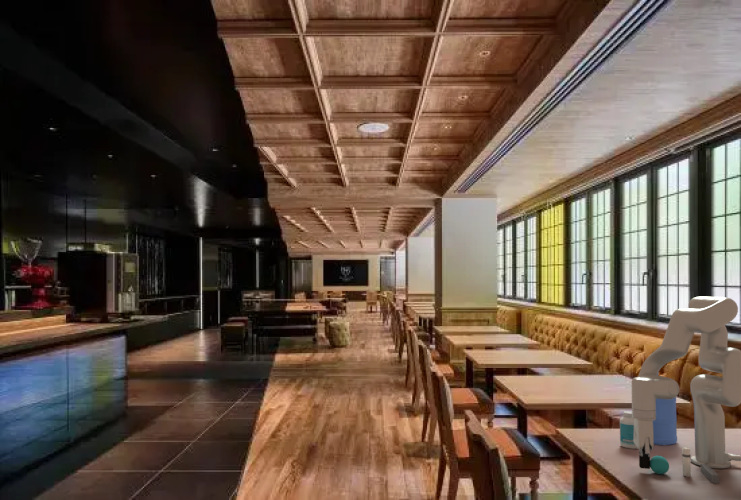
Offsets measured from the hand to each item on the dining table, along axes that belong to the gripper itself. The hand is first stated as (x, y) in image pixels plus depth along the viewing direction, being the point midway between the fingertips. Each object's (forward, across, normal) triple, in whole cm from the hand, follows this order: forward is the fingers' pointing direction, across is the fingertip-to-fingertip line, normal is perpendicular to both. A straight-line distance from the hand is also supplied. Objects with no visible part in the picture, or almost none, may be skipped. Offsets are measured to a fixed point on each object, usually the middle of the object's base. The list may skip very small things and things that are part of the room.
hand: (644, 467), depth 202 cm
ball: (-1, 0, +5) cm, 5 cm away
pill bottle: (+2, -32, +1) cm, 32 cm away
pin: (+2, 0, +13) cm, 13 cm away
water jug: (+2, -44, +13) cm, 46 cm away
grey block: (+2, 0, +20) cm, 20 cm away
